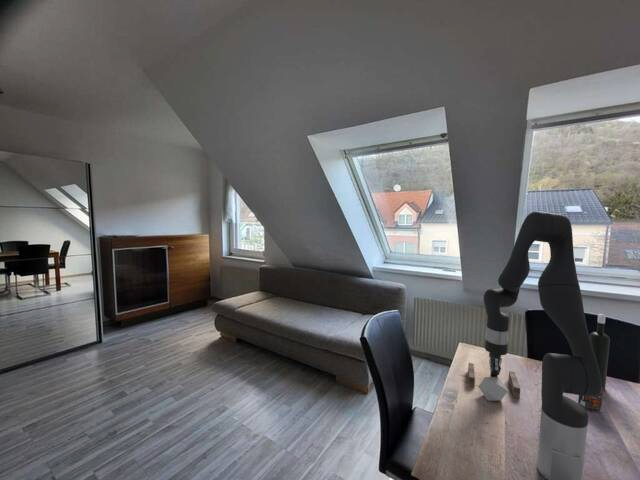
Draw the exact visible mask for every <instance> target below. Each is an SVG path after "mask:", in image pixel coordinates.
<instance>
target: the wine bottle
mask: <svg viewBox="0 0 640 480" xmlns="http://www.w3.org/2000/svg"><path fill="white" fill-rule="evenodd" d="M606 317H607V315H606V314H604V313H597V325H596V331H593V332H590V333H589V337H590V340H591V344H592V347H593V350H594V353H595V357H596V360H597V363H598V367H599V370H600V375H601V381H602V387H603V390H604V391H605V390H606V383H607V373H608V372H607V371H608V363H609V354H610V343H611V338H610V336H608V334H606V333H605V324H606Z"/></svg>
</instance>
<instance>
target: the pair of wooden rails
mask: <svg viewBox="0 0 640 480" xmlns="http://www.w3.org/2000/svg"><path fill="white" fill-rule="evenodd" d="M475 374H476V373H475V365H474V363H472V362H471V363H470V362H468V367H467V378H468V387H469V388H474V389H475V386H476V385H475V384H476V376H475ZM508 383H509V388H510V391H511V393H512V396H513V398H516V399H520V398H521V386H520V384H519V383H520V382H519V380H518V377H517V375H516V372H515V371H510V370H509V371H508Z"/></svg>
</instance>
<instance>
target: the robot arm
mask: <svg viewBox="0 0 640 480" xmlns="http://www.w3.org/2000/svg"><path fill="white" fill-rule="evenodd" d="M573 239H574V238H573V227H572V222H571V220H570V219H569V217H567V216H566V215H564V214H560V213H553V212H545V211H532V212H530V213H529V214H528V215H526V217H525V218H524V220H523V222H522V224H521V226H520V228H519V231H518V234H517V237H516V240H515V243H514V246H513V248H512V251H511V254H510V257H509V259H508V261H507V263H506V265H505V267H504V269H503V270H502V272H501V273H500V275H499V277H498V278H497V279H498V280H497V283H498V285H499V287H500V288H489V289H487V290H486V291H485V293H484V295H483V303H484V308H485V312H486V316H487V318H486V328H485V333H484V334H485V336H484V350H486V351H487V352H488V359H489V360H488V362H489V363H488V364H489V370H490V376H489V377H499V376H500V373H501V370H502V368H501V367H502V366H501V365H502V363H503V358H502V356H506V355H507V354H508V351H509V338H510V337H509V335H510V334H509V326H510V325H509V324H510V317H509V315H508V314H506V313H505V312H502V311H501V308H508V307H512V306H513V305H514V304H515V303H517V301H518V298H519V294H520V289H521V286H522V285H523V284H524V282H525V281H526V279H527V277H528V276H529V273H530V270H531V266H530V265H531V264H530V259H529V252H530V251H529V250H530V247H531V246H532V245H533V244H534V243H535V242H540V243H548V245H549V251H550V254H549V255H550V256H549V258H550V259H549V261H548V263H547V265H546V266H545V268H544V269H543V271H542V273H541V275H540V277H539V278H538V282H537V288H538V295H539V301H540V302H539V303H540V306H541V307H542V309H543V311H544V312H545V313H546V314H547V316H548V317H549V318H550V319H551V321H552V322H553V323H554V324H555V325H556V326H557V327H558V329H559V330H560V331H561V332H562V333H563V335H564V336H565V338H566V340H567V343H568V344H569V346H570V349H571V352H572V355H569V354H562V353H561V354H560V353H552V352H547V353H545V354H544V356H543V358H542V362H541V389H540V390H541V393H540V394H541V408H540V409H541V410H540V421H539V422H540V423H539V432H538V433H539V435H538V444H537V445H538V446H537V459H536V467H537V470H538V472H539V473H540V475H541V476H542V477H543V478H544V479H545V480H546V479H547V480H583V479H584V477H583V476H584V466H585V457H586V456H585V455H586V445H587V436H588V435H587V434H588V425H589V414H588V410H586V409H584V408H583V407H582V406H581V405H580V404H579V403H578V401H576V400H573V399H571V398H569V397H568V396H565V395H564V394H570V395H576V396H579V395H582V396H588V397H597V396H599V395H600V393H601V390H602V381H601V375H600V370H599V367H598V363H597V360H596V357H595V353H594V350H593V347H592V344H591V340H590V333H589V331H588V330H589V329H588V325H587V321H586V314H585V309H584V308H585V307H584V303H583V302H584V301H583V297H582V293H581V287H580V283H579V279H578V273H577V268H576V261H575V254H574V240H573Z"/></svg>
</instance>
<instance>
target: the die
mask: <svg viewBox="0 0 640 480" xmlns="http://www.w3.org/2000/svg"><path fill="white" fill-rule="evenodd" d="M478 389H479V391H480V392H481V393H482V395H483V396H484V398H485V400H487V402H488V401H491V402H493V401H494V402H496V401H499V402H501V401H502V400H503V399H504V397H505V396H506V395H507V394H508V392H509V390H508V389H507V387H506V386H505V384H504V383H503V382H502V379H500V377H499V376H498V377H490V376H485V377H484V378H483V379H482V381H481V382H480V383H479V385H478Z"/></svg>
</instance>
